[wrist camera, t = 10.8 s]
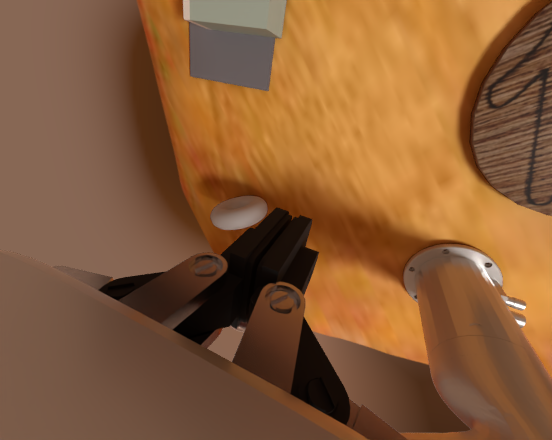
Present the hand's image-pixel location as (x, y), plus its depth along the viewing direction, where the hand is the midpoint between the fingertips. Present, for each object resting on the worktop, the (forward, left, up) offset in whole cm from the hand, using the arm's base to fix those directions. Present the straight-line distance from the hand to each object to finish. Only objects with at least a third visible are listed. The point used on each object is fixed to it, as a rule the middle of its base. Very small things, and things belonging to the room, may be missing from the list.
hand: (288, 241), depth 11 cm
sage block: (+13, -14, -26) cm, 32 cm away
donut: (+15, +14, -29) cm, 36 cm away
